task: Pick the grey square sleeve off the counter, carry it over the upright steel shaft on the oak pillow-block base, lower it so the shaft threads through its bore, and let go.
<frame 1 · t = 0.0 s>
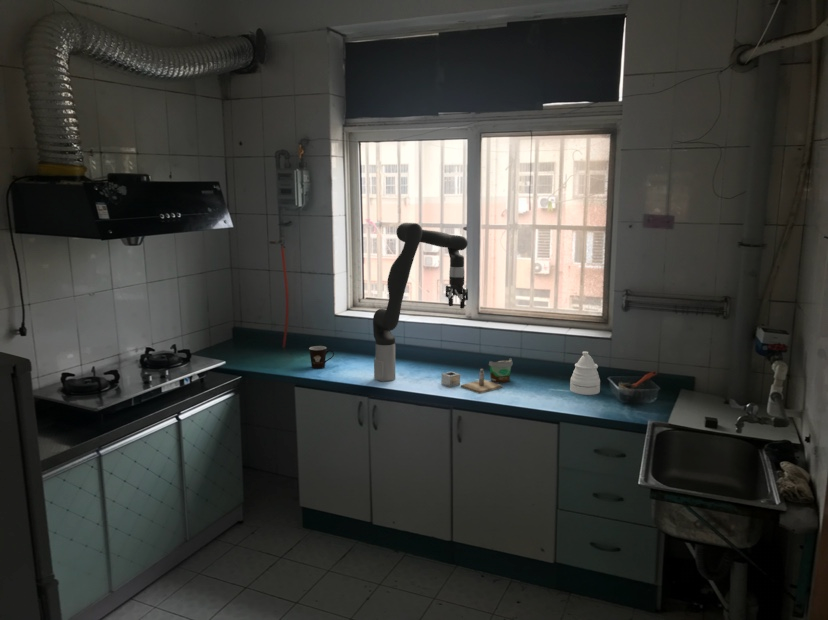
hand: (456, 307, 329), 29 cm above the counter, fingers open, 8 cm apart
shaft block: (481, 387, 293), on the counter
honey pot: (584, 390, 289), on the counter
food container: (502, 382, 302), on the counter
coffee mug: (320, 368, 325), on the counter
grey square sleeve: (450, 384, 297), on the counter
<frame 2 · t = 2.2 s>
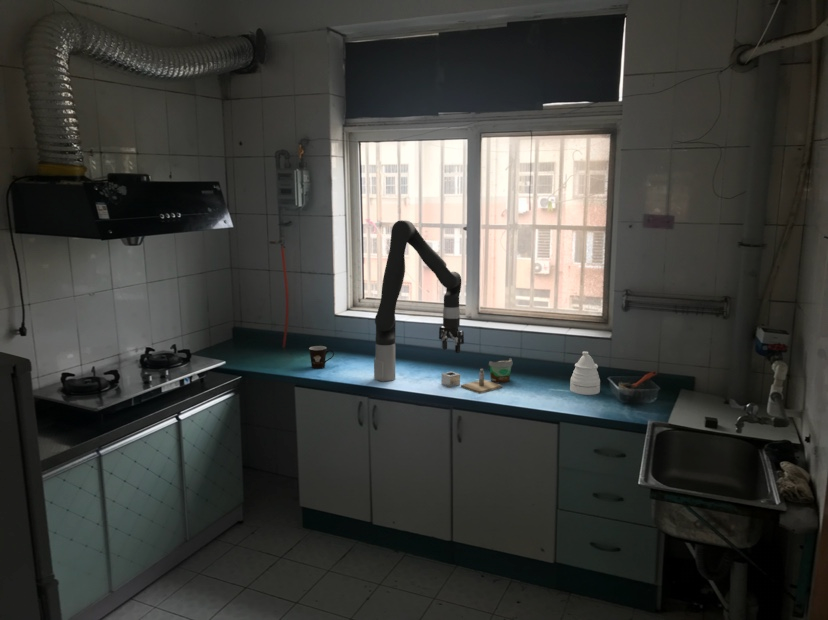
hand: (451, 351, 295), 16 cm above the counter, fingers open, 8 cm apart
nothing on the counter moved.
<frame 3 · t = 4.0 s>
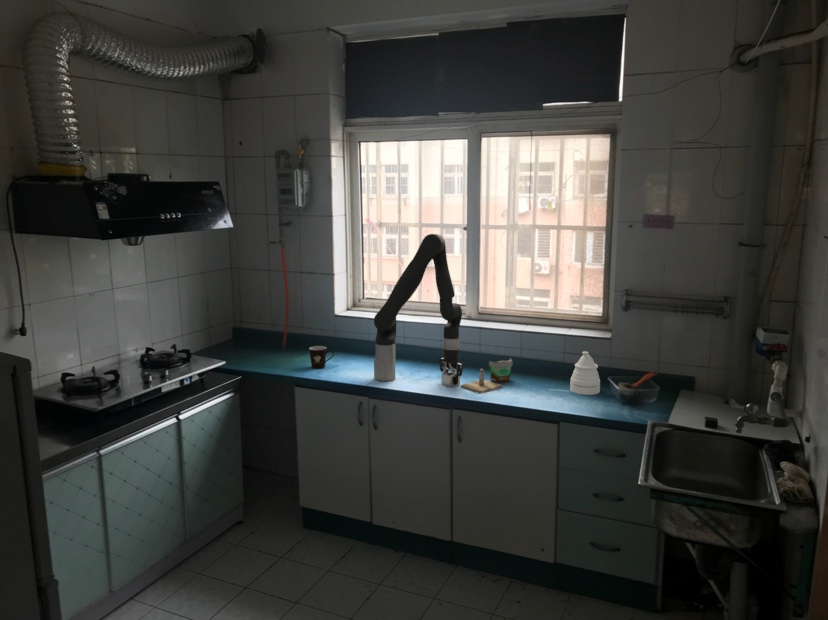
hand: (450, 382, 297), 1 cm above the counter, fingers closed on grey square sleeve, 6 cm apart
grey square sleeve: (450, 384, 298), on the counter, touching gripper
everything else where it was.
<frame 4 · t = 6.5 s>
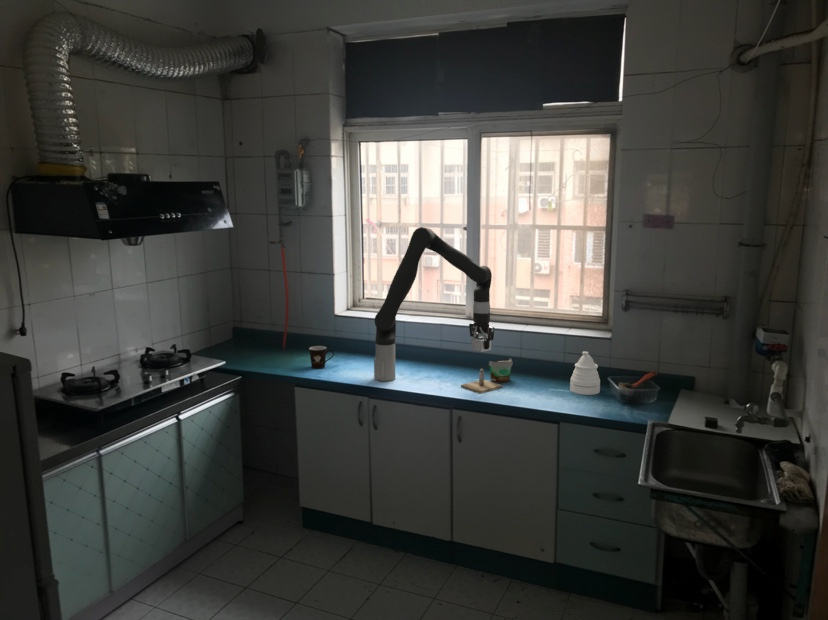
hand: (481, 347, 290), 18 cm above the counter, fingers closed on grey square sleeve, 6 cm apart
grey square sleeve: (481, 349, 290), point 17 cm above the counter, touching gripper
everything else where it was.
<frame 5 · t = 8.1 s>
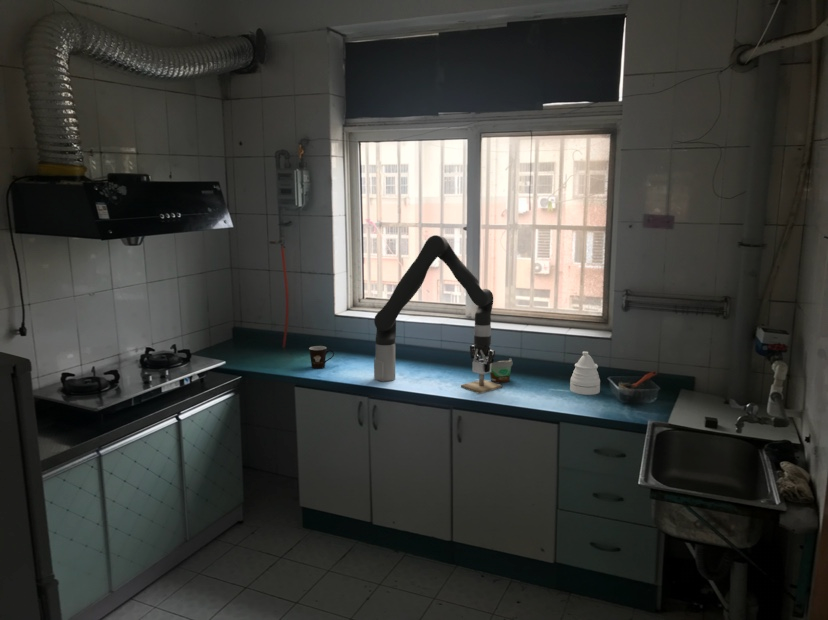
hand: (481, 370, 292), 8 cm above the counter, fingers closed on grey square sleeve, 6 cm apart
grey square sleeve: (481, 371, 292), point 7 cm above the counter, touching gripper
everything else where it was.
when the fingers open (5 cm above the counter, at t = 9.3 s): grey square sleeve drops 3 cm, resting on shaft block.
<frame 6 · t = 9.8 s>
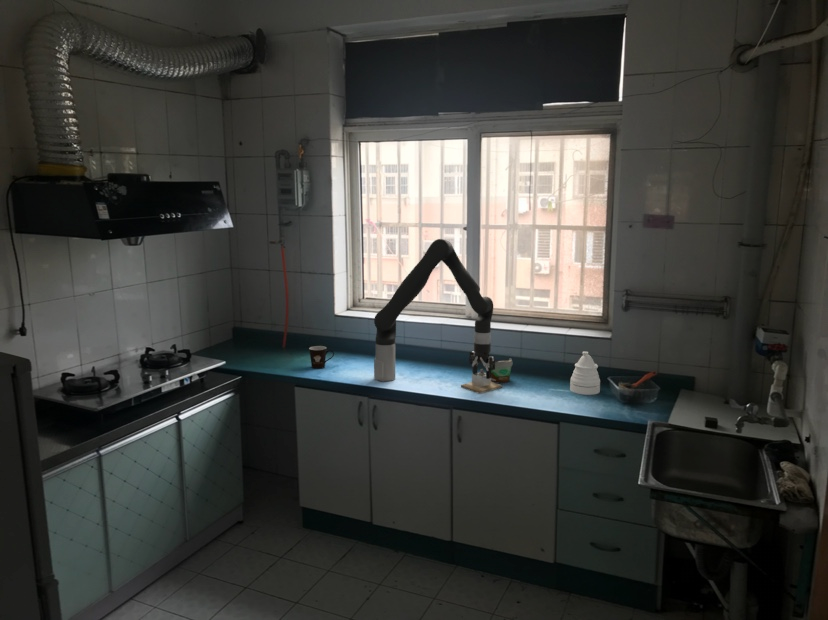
hand: (481, 376, 292), 5 cm above the counter, fingers open, 8 cm apart
grey square sleeve: (481, 385, 293), point 1 cm above the counter, touching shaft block
everything else where it was.
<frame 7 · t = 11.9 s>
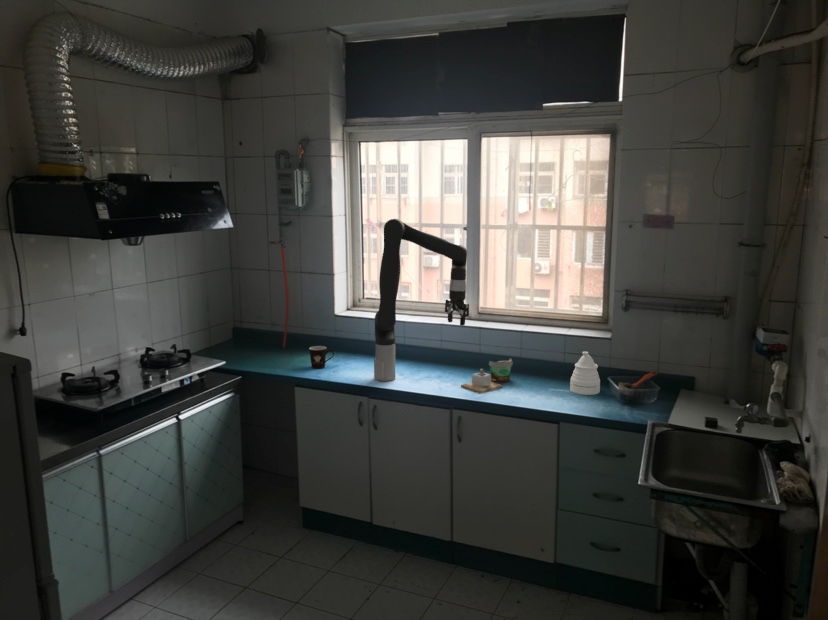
hand: (456, 323, 299), 27 cm above the counter, fingers open, 8 cm apart
nothing on the counter moved.
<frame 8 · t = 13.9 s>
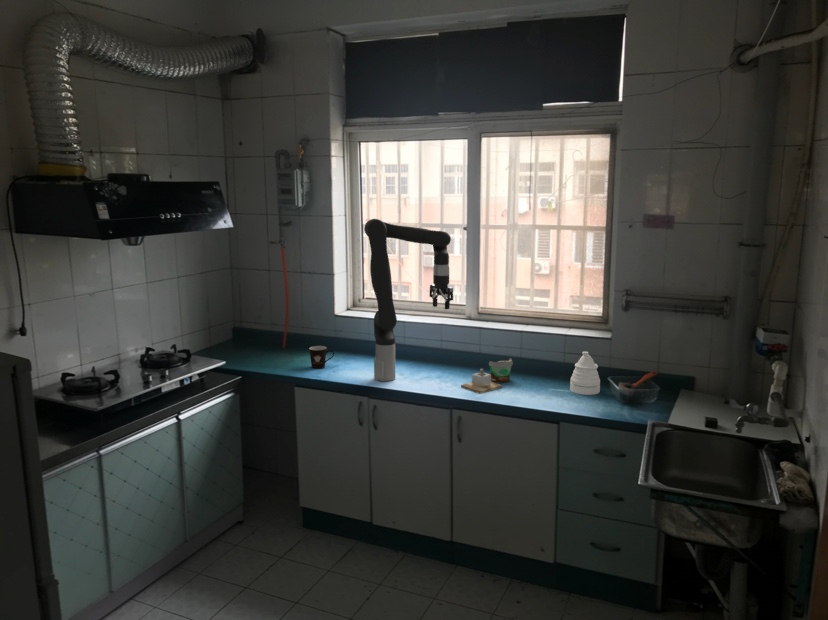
hand: (441, 307, 306), 33 cm above the counter, fingers open, 8 cm apart
nothing on the counter moved.
at the end: grey square sleeve 0.1 cm off-centre on the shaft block, point 1.0 cm above the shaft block's base; the gripper is holding nothing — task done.
